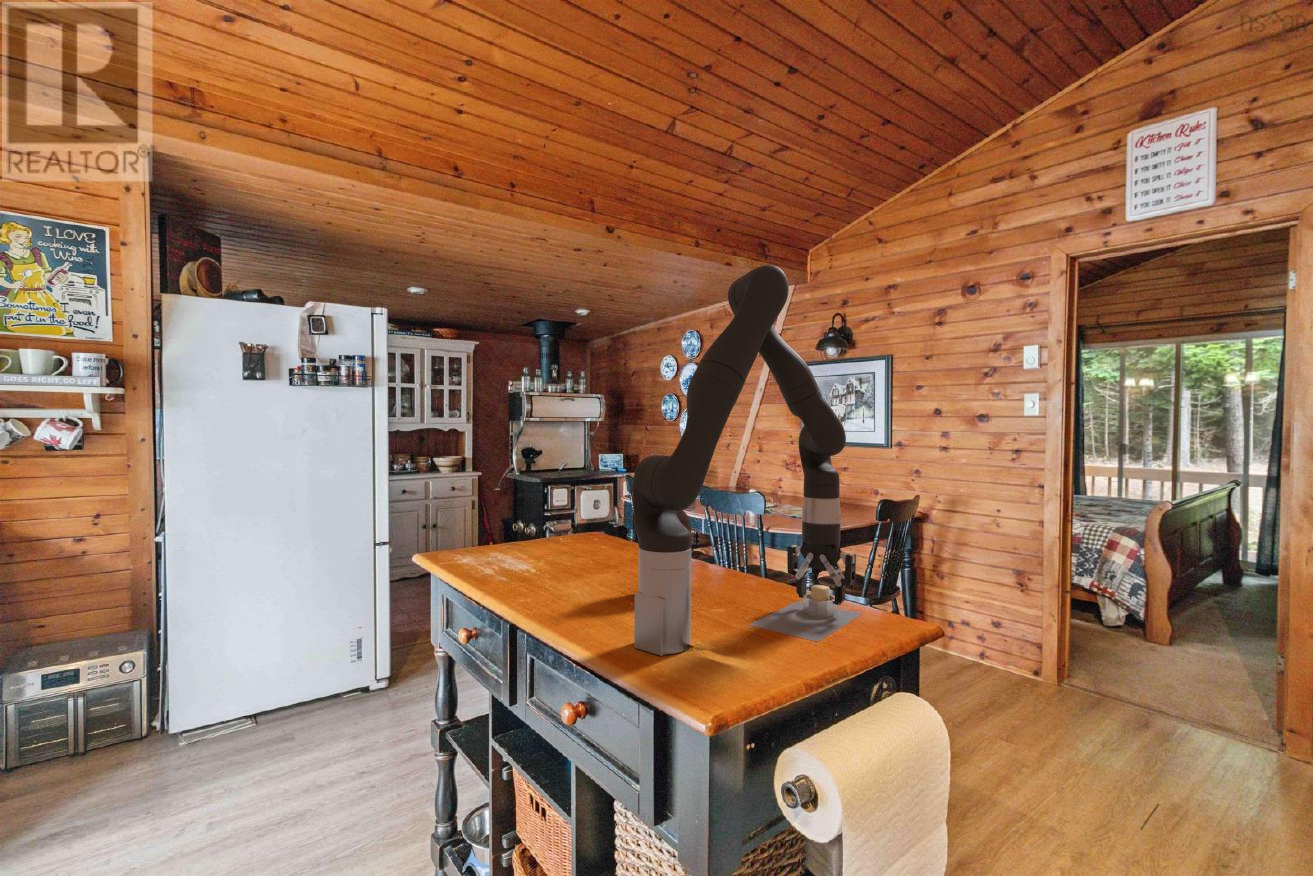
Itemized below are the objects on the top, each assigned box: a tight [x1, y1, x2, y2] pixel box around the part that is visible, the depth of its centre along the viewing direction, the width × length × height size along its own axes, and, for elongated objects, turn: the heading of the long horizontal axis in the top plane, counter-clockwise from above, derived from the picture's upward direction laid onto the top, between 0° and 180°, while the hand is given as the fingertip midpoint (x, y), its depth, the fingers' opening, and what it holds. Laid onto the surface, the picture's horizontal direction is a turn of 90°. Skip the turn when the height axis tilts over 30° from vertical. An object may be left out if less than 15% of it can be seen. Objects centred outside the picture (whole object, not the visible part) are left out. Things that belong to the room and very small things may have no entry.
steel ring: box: [802, 592, 839, 617], centre depth 123 cm, size 7×7×3 cm
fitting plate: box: [747, 584, 863, 643], centre depth 118 cm, size 21×14×6 cm, turn 140°
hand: (820, 600), depth 122 cm, fingers open, 7 cm apart
